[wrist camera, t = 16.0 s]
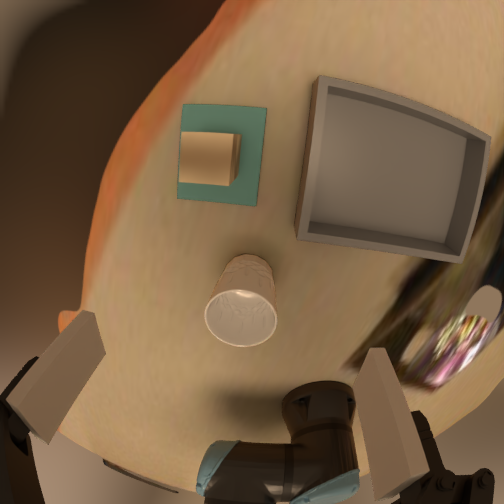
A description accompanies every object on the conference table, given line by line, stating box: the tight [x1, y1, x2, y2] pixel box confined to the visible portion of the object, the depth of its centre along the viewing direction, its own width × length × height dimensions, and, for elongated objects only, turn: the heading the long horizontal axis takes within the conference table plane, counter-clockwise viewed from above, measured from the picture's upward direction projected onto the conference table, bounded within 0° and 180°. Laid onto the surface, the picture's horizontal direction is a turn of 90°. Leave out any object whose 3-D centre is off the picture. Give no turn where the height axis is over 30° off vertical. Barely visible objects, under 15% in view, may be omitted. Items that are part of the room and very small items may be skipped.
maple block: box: [179, 132, 242, 186], centre depth 28 cm, size 5×5×7 cm
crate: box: [294, 75, 491, 264], centre depth 28 cm, size 18×24×5 cm
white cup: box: [204, 254, 277, 347], centre depth 33 cm, size 8×8×10 cm
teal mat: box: [177, 104, 267, 206], centre depth 31 cm, size 12×10×1 cm
